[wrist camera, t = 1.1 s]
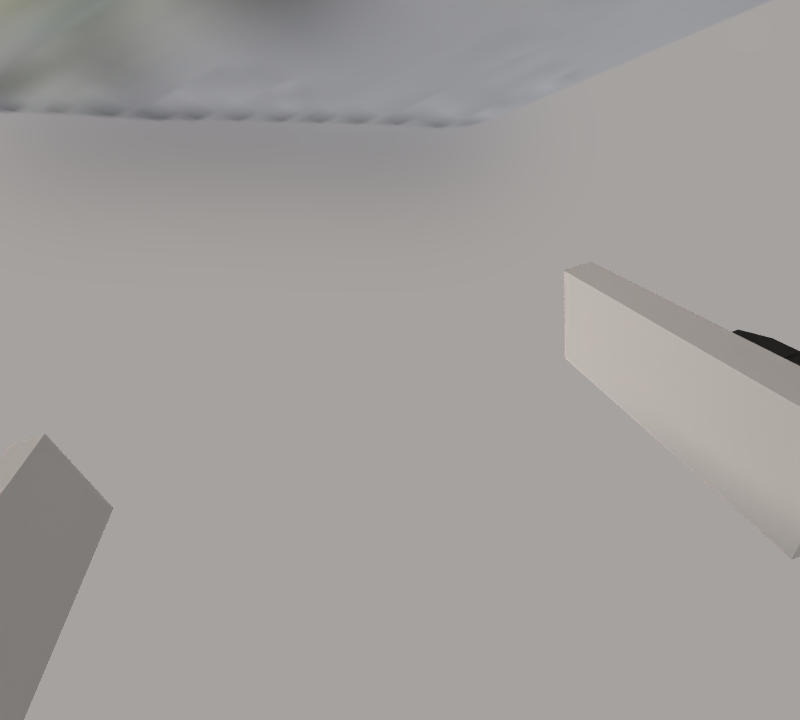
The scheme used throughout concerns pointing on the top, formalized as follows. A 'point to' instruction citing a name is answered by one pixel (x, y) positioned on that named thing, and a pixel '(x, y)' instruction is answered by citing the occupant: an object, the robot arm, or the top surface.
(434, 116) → the top surface
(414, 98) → the top surface
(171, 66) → the top surface
